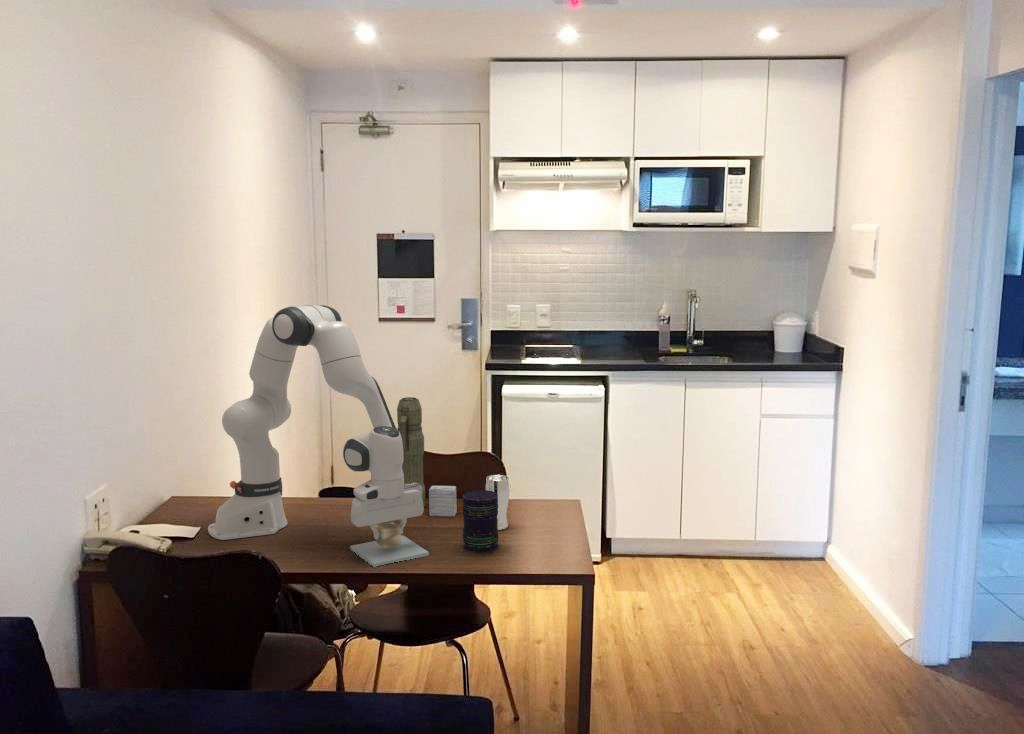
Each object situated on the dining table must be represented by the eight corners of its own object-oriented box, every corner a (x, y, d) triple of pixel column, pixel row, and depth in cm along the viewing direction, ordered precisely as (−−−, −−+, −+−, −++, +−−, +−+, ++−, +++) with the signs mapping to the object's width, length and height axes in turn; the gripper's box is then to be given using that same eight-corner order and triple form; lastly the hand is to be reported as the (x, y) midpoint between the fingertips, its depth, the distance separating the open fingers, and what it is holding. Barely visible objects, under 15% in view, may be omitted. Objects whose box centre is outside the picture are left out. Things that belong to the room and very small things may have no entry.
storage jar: (462, 541, 249) (462, 490, 247) (497, 540, 249) (497, 489, 247) (462, 554, 239) (462, 500, 237) (499, 553, 240) (498, 500, 237)
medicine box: (456, 512, 274) (456, 485, 273) (454, 517, 270) (454, 489, 269) (431, 512, 275) (431, 485, 274) (429, 516, 271) (428, 489, 270)
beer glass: (488, 531, 257) (487, 481, 255) (483, 523, 264) (483, 475, 262) (511, 529, 258) (511, 480, 256) (506, 522, 265) (506, 473, 263)
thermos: (392, 512, 275) (390, 402, 269) (402, 501, 286) (399, 395, 281) (420, 513, 274) (418, 402, 268) (428, 502, 285) (427, 395, 280)
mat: (374, 567, 229) (374, 564, 229) (350, 549, 243) (350, 545, 242) (428, 555, 238) (428, 552, 238) (402, 538, 251) (402, 535, 251)
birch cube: (384, 548, 236) (383, 530, 236) (376, 542, 241) (376, 525, 240) (401, 544, 239) (400, 527, 238) (393, 539, 243) (392, 522, 243)
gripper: (416, 478, 246) (417, 526, 248) (347, 489, 235) (349, 539, 237) (427, 483, 240) (428, 532, 243) (357, 495, 229) (358, 546, 232)
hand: (388, 536), depth 240 cm, fingers closed on birch cube, 5 cm apart
